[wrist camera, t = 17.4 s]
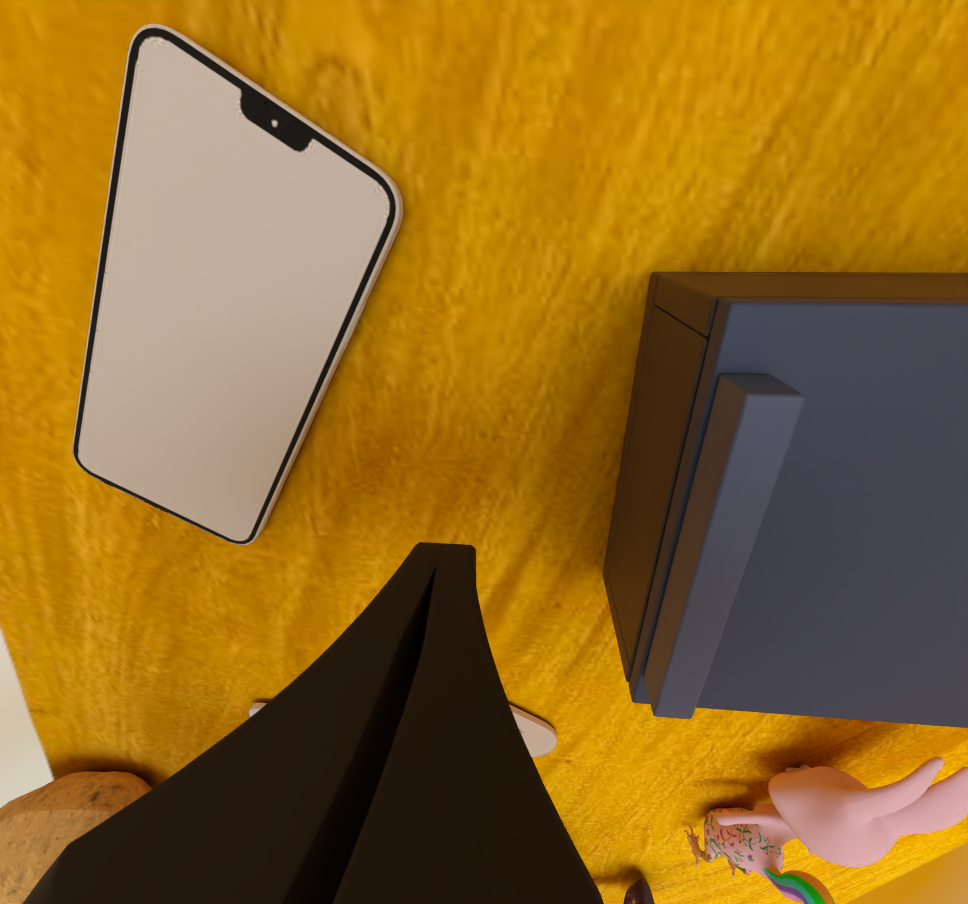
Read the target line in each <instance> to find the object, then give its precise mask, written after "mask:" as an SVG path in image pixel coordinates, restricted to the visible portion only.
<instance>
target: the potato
mask: <svg viewBox="0 0 968 904" xmlns="http://www.w3.org/2000/svg"><path fill="white" fill-rule="evenodd" d="M150 790H152V788H151V787H150V786H149V785H148V784H147V783H146V782H145V781H144V780H143V779H141V778H140V777H138V776H136V775H134V774H132V773H130V772H115V771H113V772H88V771H84V772H77V773H70V774H68V775H65V776H63V777H61V778H59V779H56V780H54V781H52V782H50V783H48V784H47V785H45V786H43V787H41V788H38V789H36V790H34V791H32V792H29V793H27V794H25V795H23V796H20V797H18V798H16V799H14V800H12V801H10V802H8V803H7V804H6V805H4V806H3V807H2V808H0V904H22V903H23V902H24V901H25V899H26V898H27V896H28V895H29V894H30V892H31V891H32V890H33V888H34V887H35V885H36V884H37V883H38V881H39V880H40V879H41V878H42V876H43V875H44V874H45V873H46V871H47V870H48V869H49V868H50V866H51V865H52V864H53V863H54V861H55V860H56V859H57V858H58V856H59V855H60V854H61V852H62V851H63V850H64V849H65V847H66V846H67V845H68V844H69V843H71V842H72V841H74V840H75V839H77V838H79V837H80V836H82V835H83V834H85V833H87V832H88V831H90V830H91V829H93V828H94V827H96V826H97V825H99V824H100V823H102V822H103V821H105V820H106V819H108V818H109V817H111V816H112V815H114V814H115V813H117V812H119V811H120V810H122V809H123V808H125V807H126V806H128V805H129V804H131V803H132V802H134V801H135V800H137V799H138V798H140V797H141V796H143V795H144V794H146V793H147V792H149V791H150Z"/></svg>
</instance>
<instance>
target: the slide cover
mask: <svg viewBox="0 0 968 904" xmlns="http://www.w3.org/2000/svg"><path fill="white" fill-rule="evenodd" d="M629 689H630V694H631V698H632V701H633V702H634V703H643V704H651V707H652V711H653V714H654V716H656V717H669V718H682V719H691V718H692V716H693V713H694V710H695V708H709V709H723V710H736V711H749V712H762V713H776V714H789V715H802V716H815V717H829V718H842V719H855V720H869V721H882V722H895V723H908V724H922V725H935V726H948V727H961V728H968V300H963V299H836V298H721V299H719V301H718V305H717V310H716V314H715V318H714V323H713V327H712V331H711V335H710V340H709V344H708V348H707V353H706V357H705V361H704V365H703V370H702V374H701V378H700V383H699V387H698V391H697V395H696V400H695V404H694V408H693V413H692V417H691V421H690V425H689V430H688V434H687V438H686V443H685V447H684V451H683V455H682V460H681V464H680V468H679V473H678V477H677V481H676V485H675V490H674V494H673V498H672V503H671V507H670V511H669V515H668V520H667V524H666V528H665V533H664V537H663V541H662V545H661V550H660V554H659V558H658V563H657V567H656V571H655V575H654V580H653V584H652V588H651V593H650V597H649V601H648V606H647V610H646V614H645V618H644V623H643V627H642V631H641V636H640V640H639V644H638V648H637V653H636V657H635V661H634V666H633V670H632V674H631V678H630V683H629Z"/></svg>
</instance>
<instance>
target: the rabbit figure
mask: <svg viewBox="0 0 968 904" xmlns="http://www.w3.org/2000/svg"><path fill="white" fill-rule="evenodd" d="M943 765H944V759H943V758H941V757H934V758H932V759H930V760H928V761H926V762H924V763H923V764H922V765H921V766H919V767H918V768H917V769H916V770H914V771H913V772H912V773H911V774H909V775H908V776H906V777H905V778H903V779H901V780H899V781H897V782H895V783H892V784H889V785H885V786H882V787H877V788H871V789H868V788H867V787H866V786H864V785H863V784H862V783H861V782H860V781H858V780H857V779H856V778H854V777H852V776H851V775H849V774H847V773H845V772H842V771H840V770H837V769H834V768H831V767H827V766H820V767H814V768H810V767H809V766H808V765H805V764H804V765H802V766H801V767H800V768H792V767H788V768H786V770H785V771H786V772H782V773H778V774H776V775H774V776H773V777H772V778H771V780H770V782H769V785H768V791H769V795H770V798H771V800H772V802H773V804H771V803H765V802H759V803H757V804H756V806H755V808H754V809H753V810H748V809H745V808H739V807H738V808H715V809H713V810H711V811H710V812H709V813H708V814H707V816H706V818H705V821H704V836H705V851H702V850H701V849H700V848H699V845H698V841H699V839H698V838H699V835H697V837H696V836H695V834H694V833H693V829H692V828H691V826H690V825H688V826H689V828H690V829H691V831H692V832H691V835H689V833H688V831H686V830H685V831H684V832H686V833H687V835H688V836H687V838H688V840H689V843H690V845H691V848H692V851H693V854H694V855H695V857H696V867H697V865H698V855H699V856H700V857H702V858H703V859H704V860H705V861H706V862H707V863H711V862H712V860H713V859H714V858H716V857H717V856H720V855H723V856H725V857H727V859H728V863H729V865H730V866H731V868H732V870H733V873H732V874H733V878H734V877H735V871H734V870H735V867H736V868H738V869H739V870H741V871H742V872H743V873H744V874H746V875H749V874H750V872H751V871H754V872H757V873H759V874H761V875H763V876H764V877H766V878H767V879H768V880H770V881H771V882H772V883H773V884H774V886H775V887H776V888H777V889H778V890H779V891H780V892H781V893H782V894H783V895H785V896H786V897H787V898H789V899H791V900H794V901H797V902H802V903H804V904H835V903H834V900H833V898H832V896H831V895H830V893H829V891H828V890H827V889H826V887H825V886H824V885H823V884H822V883H821V882H820V881H819V880H818V879H817V878H815V877H814V876H812V875H810V874H808V873H805V872H801V871H788V872H785V873H783V874H781V873H780V870H781V869H782V867H783V862H784V856H783V849H782V848H783V845H784V844H785V843H786V842H788V841H789V840H792V839H794V838H798V839H799V840H800V841H801V842H802V843H803V844H804V845H805V846H806V847H807V848H808V850H809V852H810V853H812V854H813V855H818V856H819V857H821V858H823V859H825V860H827V861H829V862H832V863H834V864H838V865H841V866H847V867H862V866H866V865H870V864H873V863H875V862H877V861H878V860H880V859H881V858H883V857H884V856H885V855H886V854H887V853H888V852H889V850H890V849H891V848H892V846H893V845H894V843H895V842H896V841H897V839H898V838H899V837H901V836H903V835H906V834H920V833H930V832H936V831H940V830H943V829H946V828H948V827H951V826H953V825H955V824H957V823H958V822H960V821H961V820H963V819H964V818H965V817H966V815H967V814H968V767H963V768H961V769H960V770H958V771H957V772H955V773H954V774H952V775H951V776H949V777H947V778H945V779H943V780H941V781H939V782H937V783H935V784H933V785H931V786H930V784H931V783H932V781H933V779H934V778H935V776H936V775H937V773H938V772H939V770H940V769H941V768H942V766H943ZM929 786H930V787H929Z"/></svg>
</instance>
